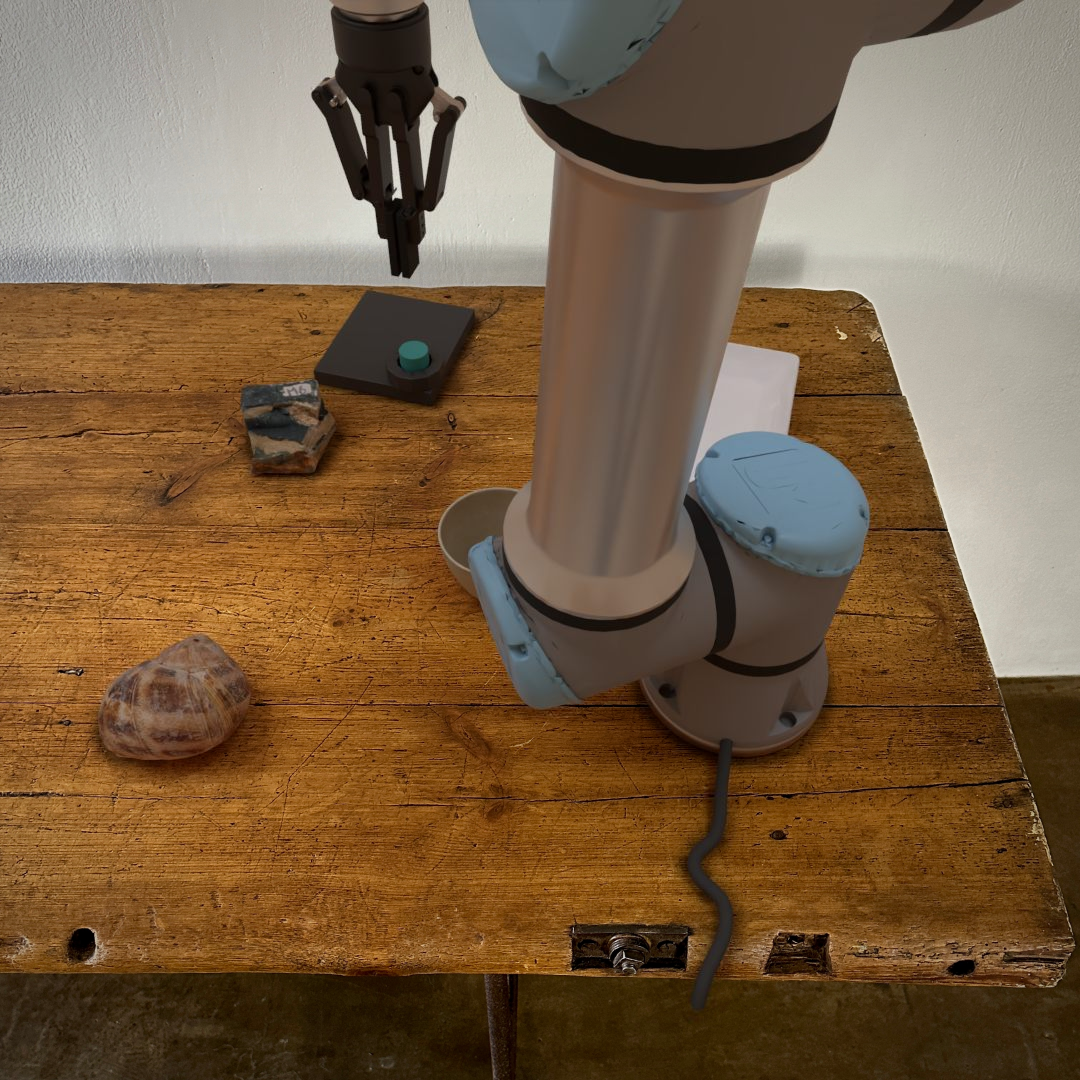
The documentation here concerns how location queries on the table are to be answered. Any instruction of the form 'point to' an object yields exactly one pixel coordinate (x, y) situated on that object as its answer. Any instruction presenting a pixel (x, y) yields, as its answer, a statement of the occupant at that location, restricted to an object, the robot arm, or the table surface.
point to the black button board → (395, 346)
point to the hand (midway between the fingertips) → (405, 269)
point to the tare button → (414, 356)
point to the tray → (750, 395)
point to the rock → (286, 426)
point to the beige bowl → (472, 528)
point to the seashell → (175, 702)
